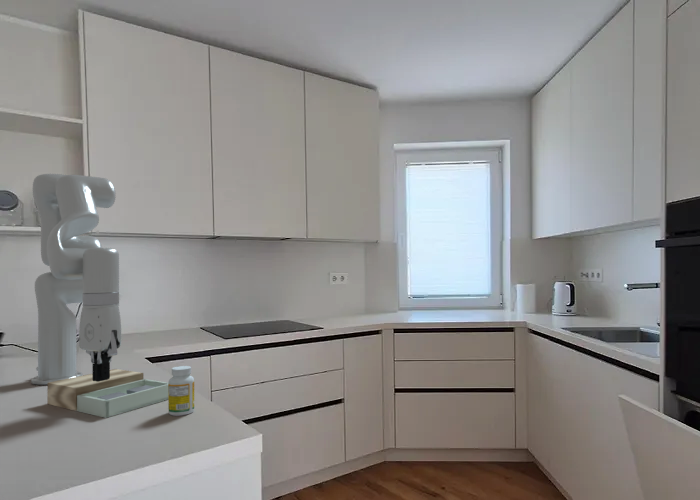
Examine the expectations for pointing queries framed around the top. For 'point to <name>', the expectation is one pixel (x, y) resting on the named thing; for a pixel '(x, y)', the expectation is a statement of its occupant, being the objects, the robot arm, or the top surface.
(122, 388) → the tray
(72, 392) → the board
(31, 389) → the top surface
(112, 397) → the tile
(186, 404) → the supplement bottle
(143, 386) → the tile
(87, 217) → the robot arm
